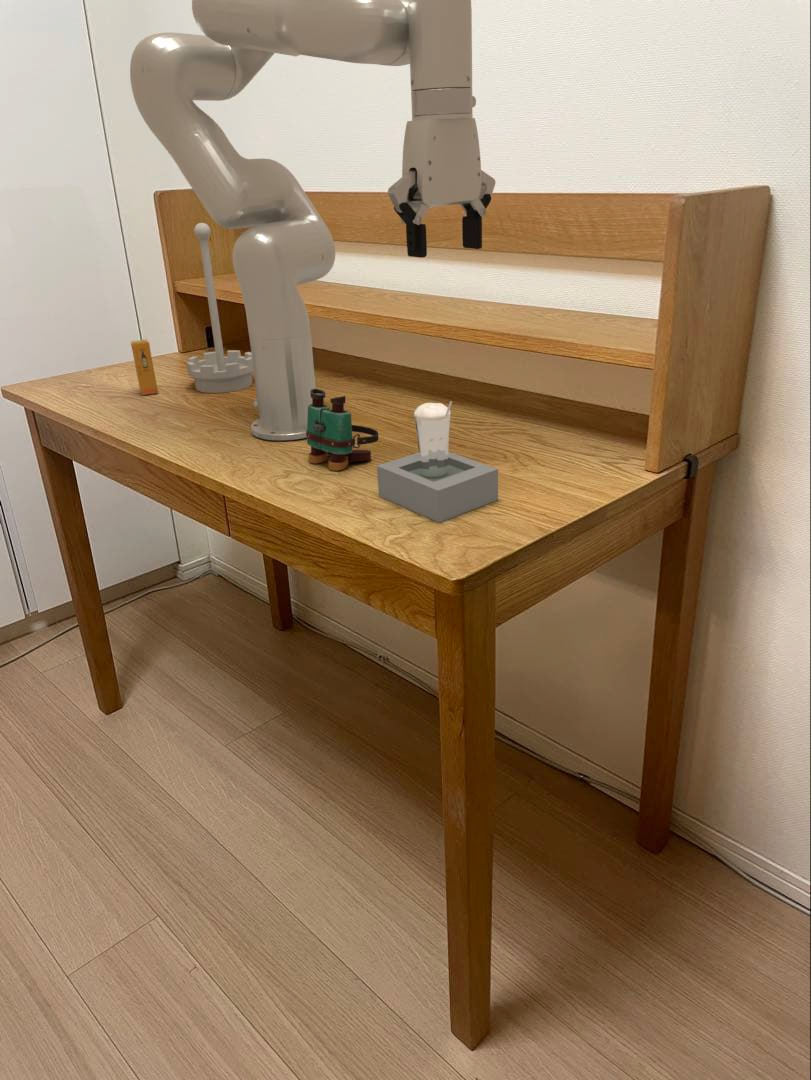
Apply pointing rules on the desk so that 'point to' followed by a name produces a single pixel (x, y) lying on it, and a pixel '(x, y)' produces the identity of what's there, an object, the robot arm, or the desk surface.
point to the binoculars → (334, 433)
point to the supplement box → (144, 367)
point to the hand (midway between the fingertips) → (445, 252)
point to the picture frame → (438, 486)
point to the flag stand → (217, 342)
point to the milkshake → (433, 438)
